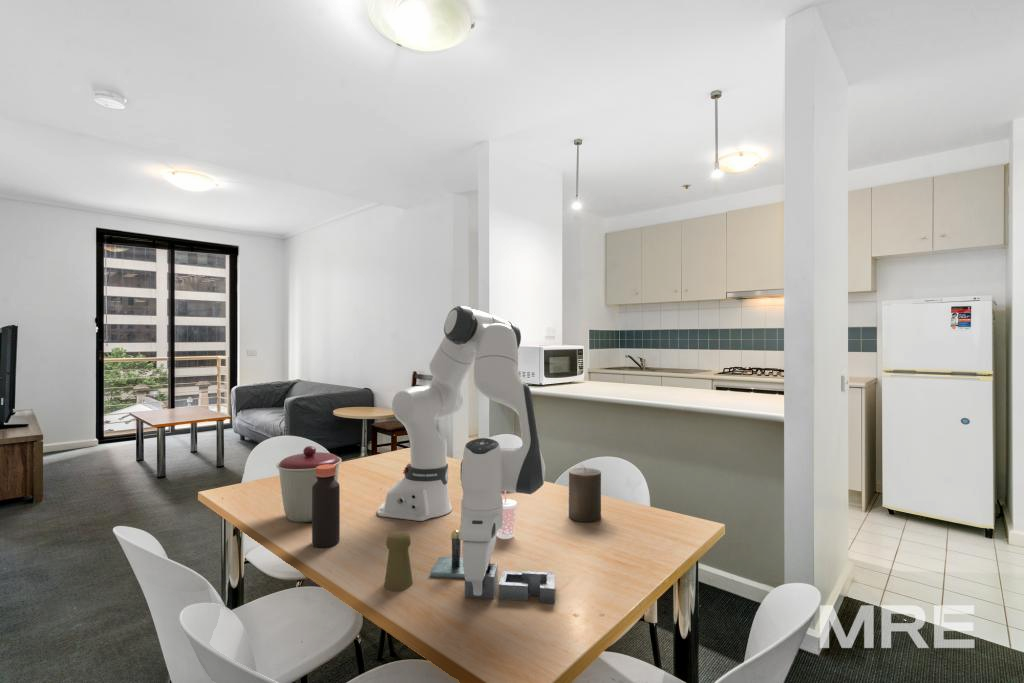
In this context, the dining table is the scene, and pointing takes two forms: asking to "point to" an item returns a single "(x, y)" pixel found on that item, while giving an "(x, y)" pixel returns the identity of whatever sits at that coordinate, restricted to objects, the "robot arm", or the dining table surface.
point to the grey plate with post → (450, 561)
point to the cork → (398, 562)
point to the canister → (302, 481)
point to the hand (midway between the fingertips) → (481, 582)
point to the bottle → (325, 507)
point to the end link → (485, 583)
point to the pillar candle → (585, 494)
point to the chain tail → (527, 585)
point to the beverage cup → (507, 519)
